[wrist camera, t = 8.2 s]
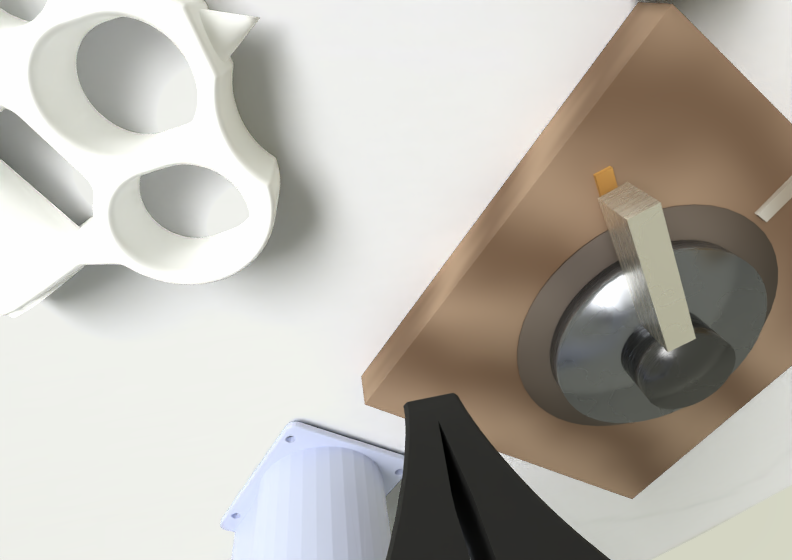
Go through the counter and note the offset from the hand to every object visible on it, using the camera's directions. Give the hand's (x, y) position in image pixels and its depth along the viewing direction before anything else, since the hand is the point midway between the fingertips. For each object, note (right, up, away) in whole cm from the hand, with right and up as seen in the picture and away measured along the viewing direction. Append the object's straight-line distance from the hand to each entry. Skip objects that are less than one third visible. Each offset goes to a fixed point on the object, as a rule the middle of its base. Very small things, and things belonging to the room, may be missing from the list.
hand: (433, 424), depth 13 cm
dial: (+10, +3, +10) cm, 14 cm away
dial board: (+11, +2, +13) cm, 17 cm away
